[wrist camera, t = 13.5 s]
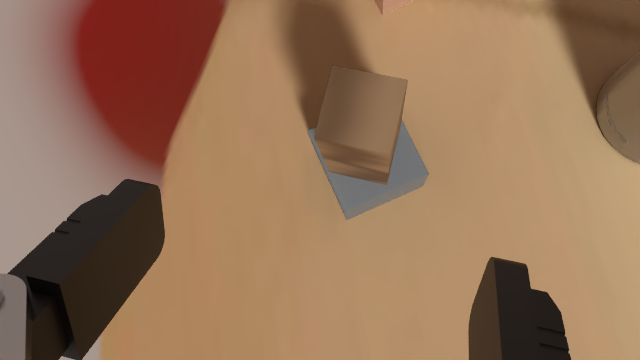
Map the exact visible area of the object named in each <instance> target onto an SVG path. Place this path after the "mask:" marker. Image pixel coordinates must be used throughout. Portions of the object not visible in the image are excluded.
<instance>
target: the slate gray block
mask: <svg viewBox="0 0 640 360" xmlns="http://www.w3.org/2000/svg"><path fill="white" fill-rule="evenodd" d="M315 131H316V127H315V128H313V129H311V130H309V131H307V132H308V134H309V137H310V139H311V141H312V144H313V146H314V149H315V151H316V153H317V155H318V158H319V160H320V162H321V164H322V166H323V169H324V171H325V173H326V175H327V177H328V180H329V182H330V184H331V186H332V188H333V191H334V193H335V195H336V197H337V200H338V202H339V204H340V206H341V208H342V211H343V213H344V215H345V217H346V219H347V220H348V219H351V218H353V217H355V216H357V215H360V214H362V213H364V212H366V211H369V210H371V209H373V208H375V207H377V206H380V205H382V204H384V203H386V202H389V201H391V200H393V199H395V198H398V197H400V196H402V195H404V194H406V193H409V192H411V191H413V190H415V189H418V188H420V187H422V186H423V185H424V183H425V180H426V178H427V176H428V174H429V173H428V171H427V169H426V167H425V165H424V163H423V161H422V159H421V157H420V155H419V153H418V151H417V149H416V147H415V145H414V143H413V141H412V139H411V137H410V135H409V133H408V131H407V129H406V127H405V125H404V123H403V121H402V119H401V126H400V131H399V135H398V140H397V144H396V148H395V153H394V157H393V161H392V166H391V170H390V174H389V179H388V183H387V185H384V184H379V183H375V182H371V181H366V180H362V179H357V178H353V177H348V176H344V175H339V174H335V173H331V172H329V171H328V168H327V166H326V164H325V162H324V159H323V157H322V155H321V153H320V150H319V148H318V146H317V144H316V141H315V139H314V135H315Z"/></svg>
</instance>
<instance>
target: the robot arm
mask: <svg viewBox="0 0 640 360" xmlns="http://www.w3.org/2000/svg"><path fill="white" fill-rule="evenodd" d="M596 107H597V119H598V122H599V126H600V129H601V131H602V132H603V134H604V136H605V138H606V139H607V141H608V142H609V143H610V144H611V145H612V147H613V148H614V149H616V150H617V151H618V152H619V153H621V154H622V155H623V156H625V157H627V158H628V159H630V160H632V161H634V162H637V163H640V50H639V51H638V52H637V53H636V54H635V55H633V56H632V57H631V58H630V59H629V60H628V61H627V62H626V63H625V64H624V65H622V66H621V67H620V68H619V69H618V70H617V71H616V72H615V73H614V74H613V75H611V76H610V77H609V79H608V80H607V81H606V82H605V84H604V85H603V87H602V89H601V91H600V93H599V95H598V101H597V106H596ZM164 239H165V230H164V221H163V212H162V203H161V194H160V189H159V187H158V186H157V185H154V184H150V183H145V182H140V181H135V180H131V179H126V180H124V181H122V182H121V183H120V184H119V185H118V186H117V187H116V188H115V189H114V190H113V191H112V192H111V193H110V194H109V195H108V196H107V195H100V196H98V197H96V198H94V199H92V200H90V201H88V202H86V203H84V204H82V205H81V206H79V207H78V208H77V209H76V210H75V211H74V212H73V213H72V214H71V215H70V216H69V217H68V218H67V221H63V222H62V223H61V224H60V225H59V226H58V227H57V228H56V229H55V232H54V233H53V232H52V233H51V234H49V236H47V237H46V238H45V239H44V240H43V241H42V242H41V243H40V244H39V245H38V246H37V247H36V248H35V249H34V250H32V251H31V252H30V253H29V254H28V255H27V256H26V257H25V258H24V259H23V260H22V261H21V262H20V263H18V264H17V266H15V267H14V268H13V269H12V270H11V271H10V272H9V273H8V274H0V360H59V359H60V357H61V356H64V357H68V358H71V359H75V360H82V359H83V357H84V356H85V355H86V353H87V352H88V351H89V349H90V348H91V347H92V345H93V344H94V343H95V341H96V340H97V339H98V337H99V336H100V335H101V333H102V332H103V331H104V329H105V328H106V327H107V325H108V324H109V323H110V321H111V320H112V319H113V317H114V316H115V314H116V313H117V312H118V310H119V309H120V308H121V306H122V305H123V304H124V302H125V301H126V300H127V298H128V297H129V296H130V294H131V293H132V292H133V290H134V289H135V288H136V286H137V285H138V284H139V282H140V281H141V280H142V278H143V277H144V276H145V274H146V273H147V271H148V270H149V269H150V267H151V266H152V265H153V263H154V262H155V261H156V259H157V258H158V256H159V255H160V253H161V250H162V248H163V244H164ZM568 351H569V348H568V343H567V338H566V337H565V329H564V324H563V320H562V315H561V312H560V310H559V309H558V307H557V306H556V304H555V303H554V302H553V300H552V299H551V297H550V296H549V294H548V293H547V292H543V291H539V290H534V289H531V287H530V280H529V274H528V268H527V265H526V264H523V263H519V262H514V261H509V260H505V259H500V258H495V257H491V258H490V259H489V261H488V263H487V266H486V269H485V272H484V274H483V277H482V280H481V283H480V285H479V288H478V291H477V294H476V297H475V299H474V302H473V305H472V309H471V314H470V320H469V360H571V357H570V354H568Z"/></svg>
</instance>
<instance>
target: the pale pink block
mask: <svg viewBox="0 0 640 360" xmlns="http://www.w3.org/2000/svg"><path fill="white" fill-rule="evenodd" d="M374 1H375V3H376V4H377V6H378V8H379V10H380V12H381V14H382V15H385V14H387V13H389V12H391V11H393V10H396V9H398V8H400V7H402V6H404V5H406V4H408V3H411V2H413V1H415V0H374Z"/></svg>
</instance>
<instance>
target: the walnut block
mask: <svg viewBox="0 0 640 360" xmlns="http://www.w3.org/2000/svg"><path fill="white" fill-rule="evenodd" d="M407 82H408V80H406V79H401V78H395V77H390V76H385V75H380V74H375V73H370V72H364V71H359V70H354V69H349V68H344V67H339V66H333V65H332V69H331V73H330V76H329V80H328V84H327V88H326V92H325V96H324V100H323V104H322V107H321V111H320V115H319V119H318V123H317V127H316V131H315V135H314V139H315V141H316V144H317V146H318V148H319V150H320V153H321V155H322V157H323V159H324V162H325V164H326V166H327V168H328V171H329V172H331V173H335V174H339V175H344V176H348V177H353V178H357V179H362V180H366V181H371V182H375V183H379V184H384V185H387V183H388V179H389V174H390V170H391V166H392V161H393V157H394V153H395V148H396V144H397V140H398V135H399V131H400V126H401V119H402V113H403V107H404V101H405V95H406V88H407Z"/></svg>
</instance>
